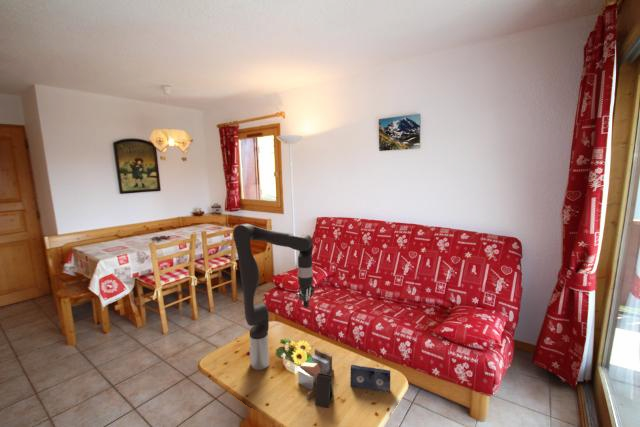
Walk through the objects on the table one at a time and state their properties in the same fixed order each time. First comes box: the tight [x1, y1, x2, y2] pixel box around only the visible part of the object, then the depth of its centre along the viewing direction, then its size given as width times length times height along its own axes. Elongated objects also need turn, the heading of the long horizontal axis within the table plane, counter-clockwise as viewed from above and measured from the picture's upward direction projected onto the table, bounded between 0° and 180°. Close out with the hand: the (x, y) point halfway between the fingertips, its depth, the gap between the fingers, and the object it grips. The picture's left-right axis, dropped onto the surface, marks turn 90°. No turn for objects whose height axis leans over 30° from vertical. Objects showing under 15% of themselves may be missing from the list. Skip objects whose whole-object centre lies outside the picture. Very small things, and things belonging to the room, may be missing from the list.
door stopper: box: [314, 373, 334, 408], centre depth 135 cm, size 9×6×12 cm, turn 163°
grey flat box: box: [297, 367, 316, 391], centre depth 144 cm, size 9×2×7 cm, turn 54°
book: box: [299, 361, 321, 384], centre depth 145 cm, size 4×9×8 cm, turn 53°
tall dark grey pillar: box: [306, 348, 335, 400], centre depth 146 cm, size 11×20×10 cm, turn 143°
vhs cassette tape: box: [349, 364, 391, 393], centre depth 141 cm, size 18×3×10 cm, turn 74°
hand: (306, 306), depth 155 cm, fingers closed
